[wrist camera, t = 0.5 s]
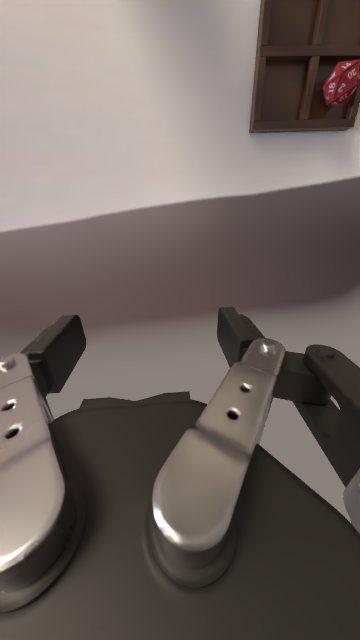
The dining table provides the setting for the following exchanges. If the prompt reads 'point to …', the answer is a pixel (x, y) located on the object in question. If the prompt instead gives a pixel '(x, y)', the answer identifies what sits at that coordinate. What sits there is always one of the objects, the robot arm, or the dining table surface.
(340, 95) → the dice
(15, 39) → the dining table surface
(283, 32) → the holder
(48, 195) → the dining table surface
